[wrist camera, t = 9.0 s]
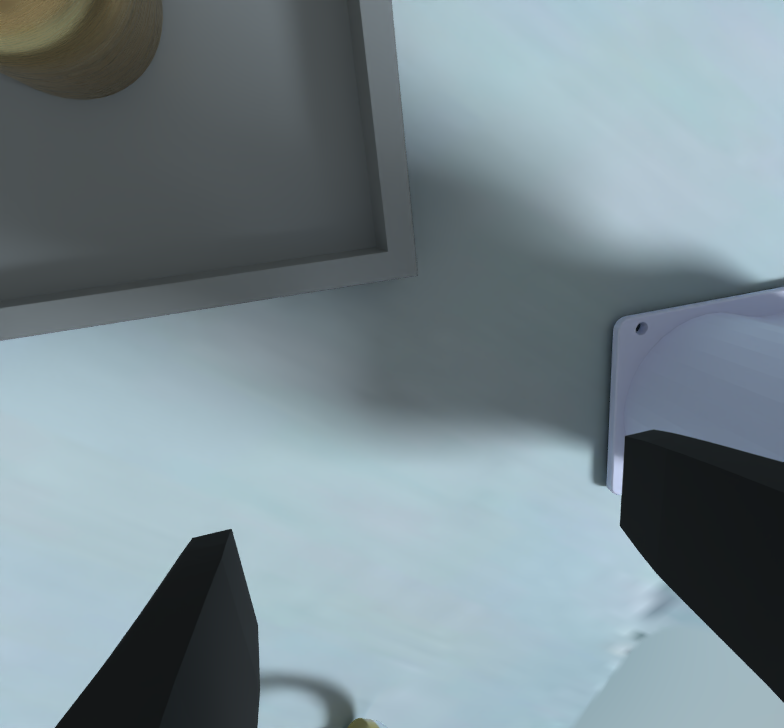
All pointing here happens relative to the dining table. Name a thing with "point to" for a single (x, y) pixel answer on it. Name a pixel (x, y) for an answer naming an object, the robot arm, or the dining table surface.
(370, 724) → the ring
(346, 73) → the tray
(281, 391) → the dining table surface
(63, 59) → the brass short cylinder
